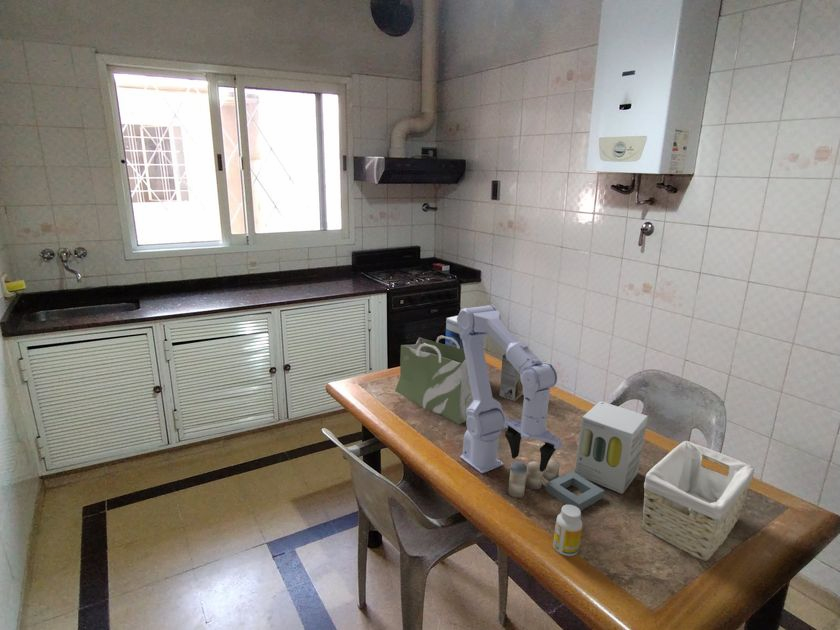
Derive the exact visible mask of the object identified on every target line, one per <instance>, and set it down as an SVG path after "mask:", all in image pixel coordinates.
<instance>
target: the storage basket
mask: <svg viewBox="0 0 840 630" xmlns="http://www.w3.org/2000/svg"><path fill="white" fill-rule="evenodd" d="M703 459H705V460H708V461H709V462H712V463H715V464H717V465H719V466H721V467H725V468H728V474H727V475H726V474H723V473H719V472H716V471H714V470H711V469H709V468H705V467H704V466H702V462H703ZM754 471H755V469H754V468H753V466H752V465H751V464H748V463H745V462H744V461H741V460H738V459H737V458H734V457H731V456H729V455H726V454H724V453H721V452H718V451H716V450H714V449H711V448H708V447H706V446H703V445H699V444H697V443H693V442H691V441H688V440H684V441H682V442H681V443H680V444H678V445H677V446H676V447H674V448H673V449H672V450H671V451H670V452H668V454H667V455H665V456H664V457H662V459H661V460H659V461H658V462H657V463H656V464H655V465H654V466H653V467H652V468H650V469H649V471H647V473H646V475H645V481H644V482H643V488H644V494H643V496H644V498H643V507H642V509H643V512H642V513H643V516H642V517H643V519H642V528H644V530H646V532H648V533H650V534H653V535H654V536H656V537H657V538H659V539H661V540H664V541H665V542H667V543H669V544H670V545H673V546H674V547H677V548H678V549H680V550H682V551H683V552H686V553H688V554H690V556H693V557H694V558H697V559H699V560H702V561H705V562H706V561H709V559H710V558H711V557H712V556H713V555H714V553H715V552H716V551H717V550H718V549H719V548H720V546H721V545H723V544H724V542H725V541H726V539H727V538H728V535H729V534H730V533H731V532H732V530H733V529H734V527H735V524H736V523H738V520H739V519H741V516H740V514H741V512H742V509H743V508H742V507H743V506H744V502H745V499H746V498H747V491H748V490H749V488H750V485H751V484H752V480H753V479H754V474H755V472H754Z"/></svg>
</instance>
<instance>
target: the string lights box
mask: <svg viewBox="0 0 840 630" xmlns="http://www.w3.org/2000/svg"><path fill="white" fill-rule="evenodd" d="M457 317H458V315H454V316H450V317H446V321H445V323H446V325H445V337H449V338H453V339H454V340H455V341H457V343H458V344H459V346H460V348H461V349H464V347H463V342H462V339H460V334H459V328H458V323H457ZM445 345H448V346H453V347H457V346H456V344H455V343H454V342H453V341H451V340H449V339H445Z"/></svg>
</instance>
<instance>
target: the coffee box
mask: <svg viewBox="0 0 840 630" xmlns="http://www.w3.org/2000/svg"><path fill="white" fill-rule="evenodd" d="M522 394H523V386H522V383H521V379H520V374H519V373H518V371H517V370H516V369H515V368H514V367H513V366H512V364H511V363H510V362H509V361H508V360H507V358H506V353H504V354H502V362H501V374H500V387H499V394H498V395H499V397H500V396H501V397H500V398H503V397H504V398H503V399H506V398H507V399H506V400H509V399H510V400H509V401H512V400H513V401H512V402H516V401H517V400H519V398H521V395H522ZM522 396H523V395H522ZM515 400H516V401H515Z"/></svg>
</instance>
